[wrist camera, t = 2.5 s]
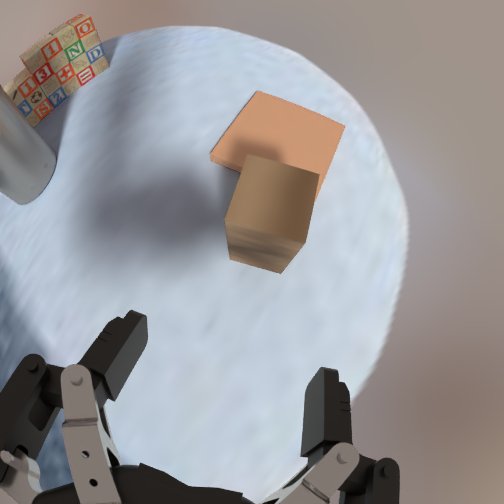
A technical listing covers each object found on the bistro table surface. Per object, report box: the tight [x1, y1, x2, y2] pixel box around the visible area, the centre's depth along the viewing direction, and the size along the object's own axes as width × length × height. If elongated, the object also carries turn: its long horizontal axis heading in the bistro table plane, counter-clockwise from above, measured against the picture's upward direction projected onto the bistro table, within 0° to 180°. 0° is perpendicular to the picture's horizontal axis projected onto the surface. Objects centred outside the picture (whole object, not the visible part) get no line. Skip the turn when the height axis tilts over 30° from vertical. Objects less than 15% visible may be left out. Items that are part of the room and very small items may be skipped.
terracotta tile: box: [210, 91, 345, 202], centre depth 29 cm, size 12×12×1 cm
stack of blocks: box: [3, 14, 109, 127], centre depth 26 cm, size 21×6×12 cm, turn 136°
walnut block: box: [225, 154, 320, 274], centre depth 22 cm, size 5×5×10 cm
